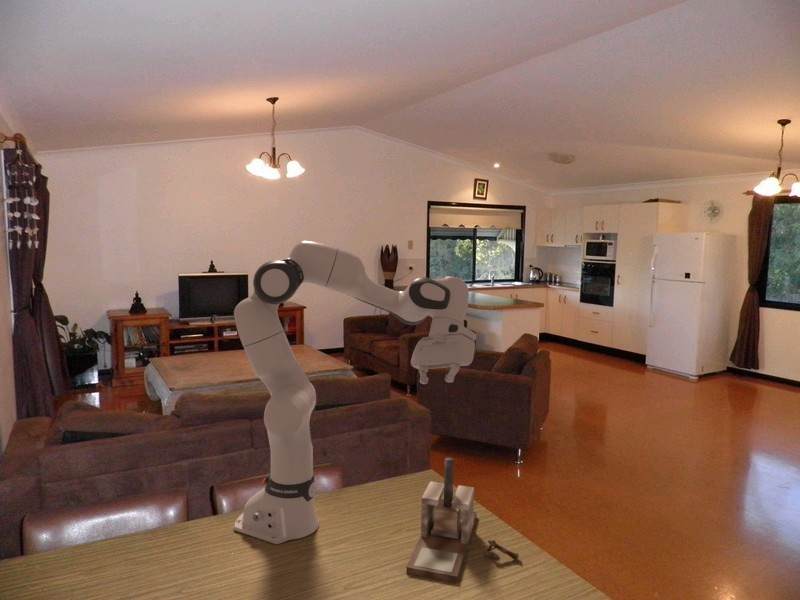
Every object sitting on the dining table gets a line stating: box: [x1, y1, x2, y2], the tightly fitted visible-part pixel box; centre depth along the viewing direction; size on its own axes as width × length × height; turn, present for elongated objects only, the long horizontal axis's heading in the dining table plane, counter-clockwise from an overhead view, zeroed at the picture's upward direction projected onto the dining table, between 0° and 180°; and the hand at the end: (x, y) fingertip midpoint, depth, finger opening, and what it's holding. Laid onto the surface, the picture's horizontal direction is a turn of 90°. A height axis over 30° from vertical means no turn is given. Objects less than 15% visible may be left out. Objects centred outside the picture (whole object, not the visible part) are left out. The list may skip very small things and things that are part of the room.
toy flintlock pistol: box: [484, 539, 520, 563], centre depth 137 cm, size 2×8×4 cm, turn 80°
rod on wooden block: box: [431, 457, 462, 539], centre depth 146 cm, size 7×8×19 cm
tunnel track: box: [405, 480, 478, 584], centre depth 143 cm, size 12×31×12 cm, turn 164°
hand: (435, 382), depth 146 cm, fingers open, 8 cm apart
